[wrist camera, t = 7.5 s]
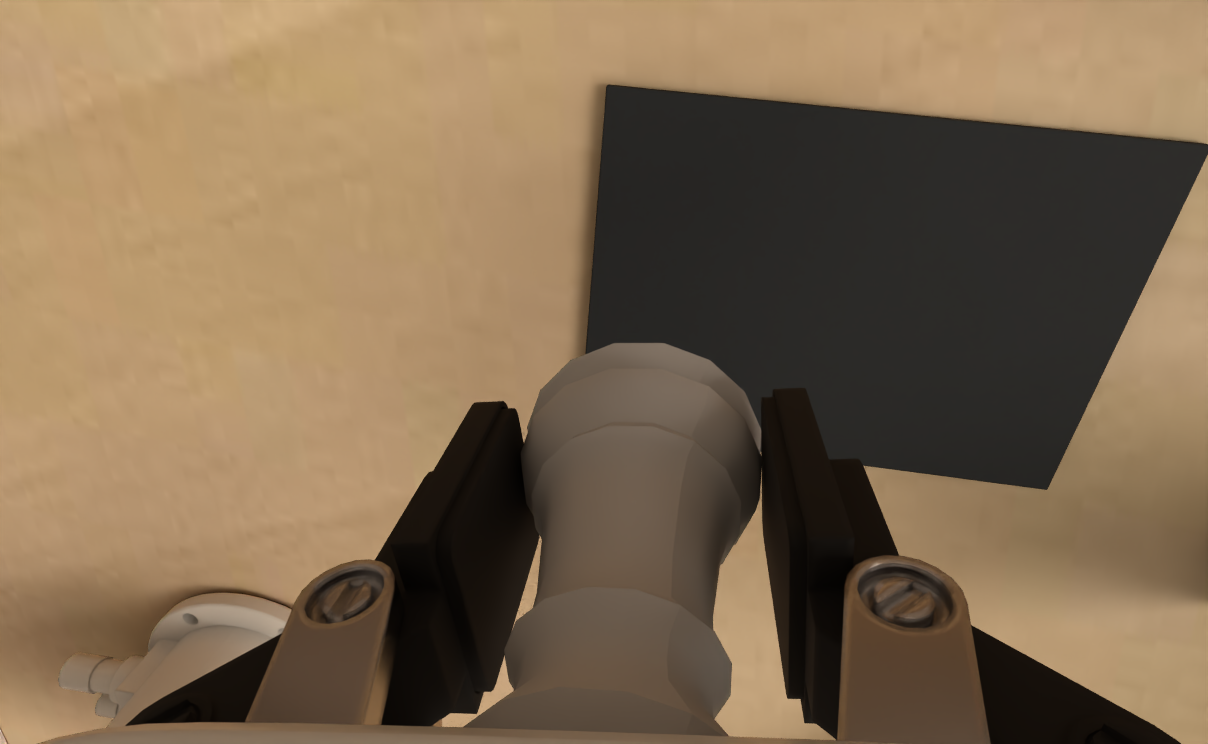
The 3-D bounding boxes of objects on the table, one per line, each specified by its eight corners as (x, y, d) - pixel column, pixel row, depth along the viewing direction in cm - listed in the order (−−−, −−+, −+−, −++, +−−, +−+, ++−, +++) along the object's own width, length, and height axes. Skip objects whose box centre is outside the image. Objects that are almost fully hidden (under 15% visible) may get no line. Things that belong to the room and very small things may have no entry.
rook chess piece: (604, 285, 12) (476, 658, 5) (809, 409, 12) (968, 903, 5) (495, 458, 14) (287, 906, 7) (676, 558, 14) (662, 1064, 7)
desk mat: (580, 423, 30) (579, 428, 29) (607, 84, 23) (606, 85, 23) (1043, 484, 29) (1047, 490, 28) (1204, 143, 22) (1213, 145, 22)
